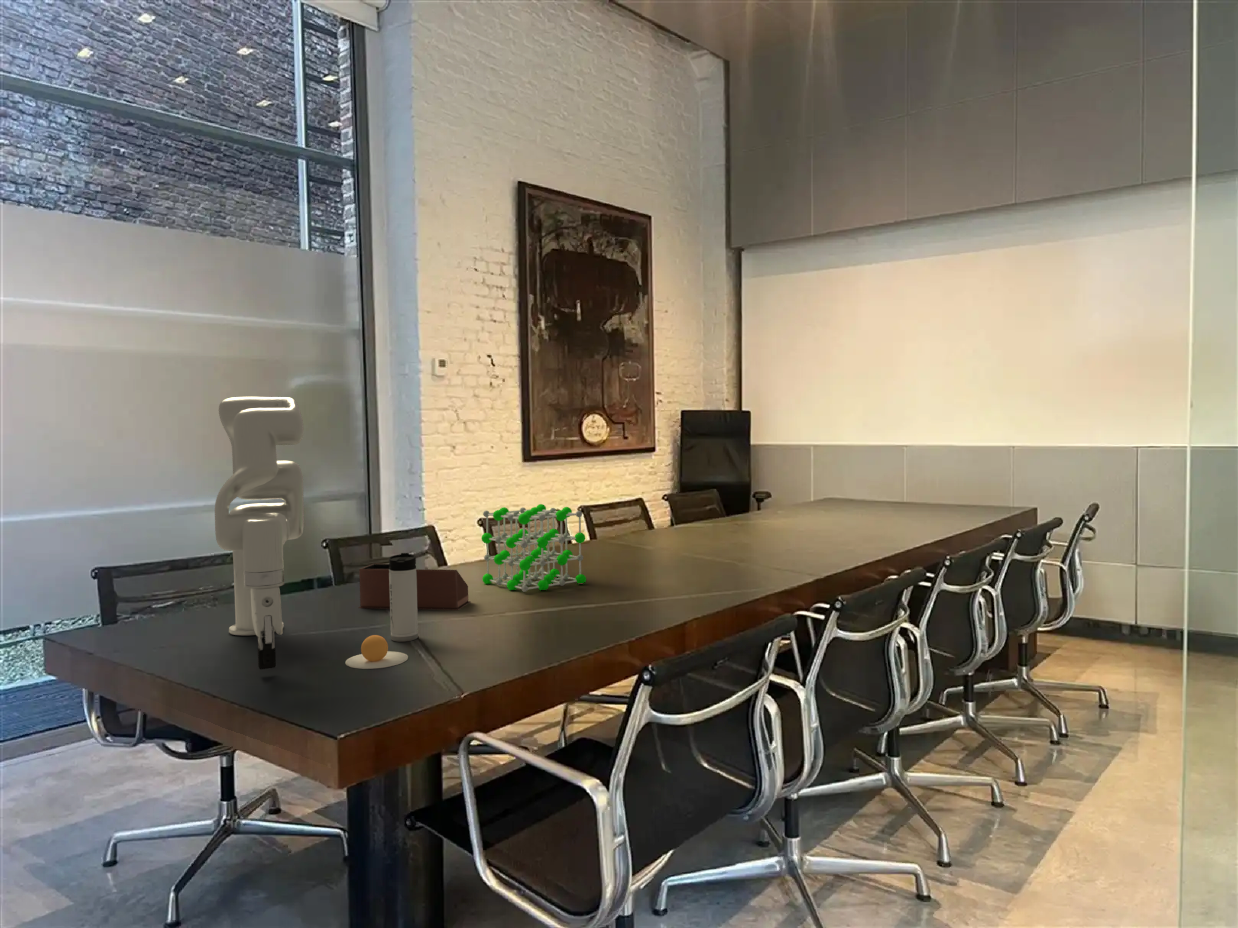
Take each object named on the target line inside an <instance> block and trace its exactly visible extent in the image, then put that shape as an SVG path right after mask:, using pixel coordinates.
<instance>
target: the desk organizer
mask: <svg viewBox="0 0 1238 928" xmlns="http://www.w3.org/2000/svg"><path fill="white" fill-rule="evenodd" d="M389 567H390V566H389V563H372V564H369V565H367V566H364V567H361V568H359V569H358V570H359V571H358V573H359V598H360V599H359V600H360V601H359V604H360V606H359V607H358V609H382V610H383V609H389V610H390V586H389V573H390V572H389ZM416 576H417V610H438V611H440V610H441V611H442V610H444V611H445V610H446V611H448V610H449V611H459V610H461V609H462V608H464V607H465V606H467V605H469V604H471V601H470V600H469V586H468V584H467V582H466V581H465V579H464V578H463V577H462V575H461V574H460V573H459V571H458V570H457V569H419V568H418V569H417V568H416ZM468 603H469V604H468Z"/></svg>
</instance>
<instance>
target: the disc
mask: <svg viewBox="0 0 1238 928" xmlns="http://www.w3.org/2000/svg"><path fill="white" fill-rule="evenodd" d="M407 660H409V655H408V654H407V653H404V652H400V651H390V650H388V652H387V654H386V656H385V657H384V658H383V659H381V660H379V661H375V662H372V661H368V660H367V659H365V658H364V657H363V655H362V653H361V654H360V653H359V654H357V655H353V656H351V657H349V658H347V659H346V660H345V663H344V664H345V665H346V666H347V667H350V668H353V669H360V670H361V669H363V670H370V669H371V670H372V669H373V670H374V669H383V668H389V667H394V666H397V665H400V664H403V663H405V662H406V661H407Z"/></svg>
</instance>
